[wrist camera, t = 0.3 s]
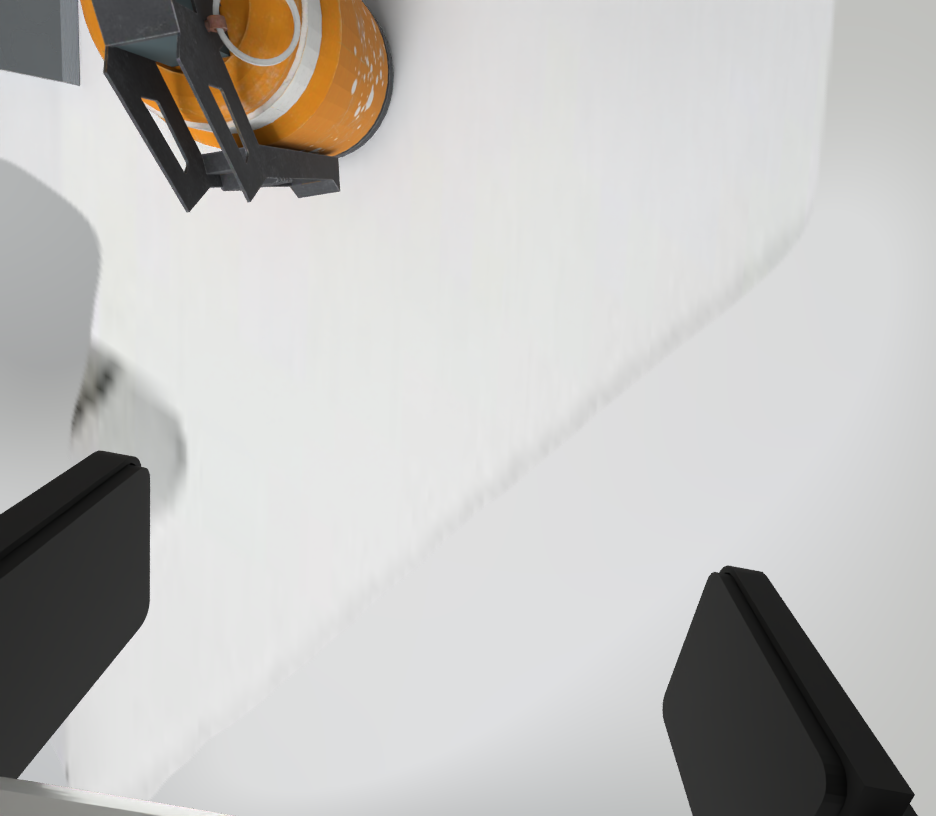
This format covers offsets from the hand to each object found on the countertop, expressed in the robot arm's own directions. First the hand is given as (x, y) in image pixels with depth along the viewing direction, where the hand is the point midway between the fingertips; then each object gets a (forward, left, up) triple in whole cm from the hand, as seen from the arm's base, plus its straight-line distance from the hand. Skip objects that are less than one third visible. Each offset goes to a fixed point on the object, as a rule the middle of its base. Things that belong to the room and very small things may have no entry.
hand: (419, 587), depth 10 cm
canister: (-9, -11, -31) cm, 34 cm away
